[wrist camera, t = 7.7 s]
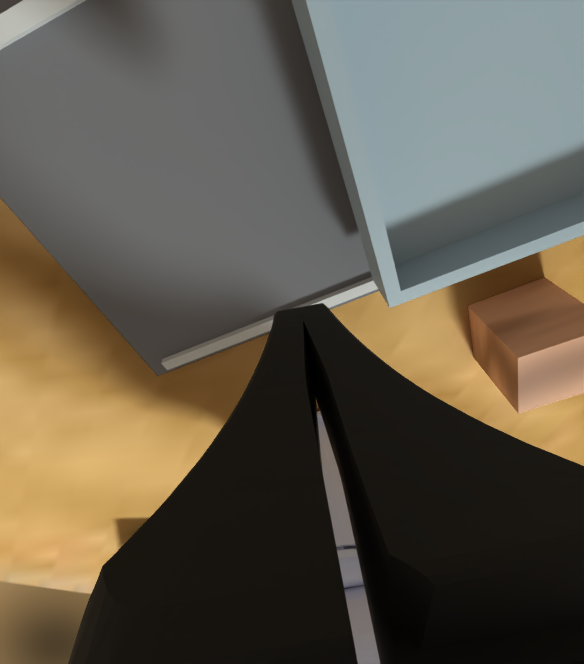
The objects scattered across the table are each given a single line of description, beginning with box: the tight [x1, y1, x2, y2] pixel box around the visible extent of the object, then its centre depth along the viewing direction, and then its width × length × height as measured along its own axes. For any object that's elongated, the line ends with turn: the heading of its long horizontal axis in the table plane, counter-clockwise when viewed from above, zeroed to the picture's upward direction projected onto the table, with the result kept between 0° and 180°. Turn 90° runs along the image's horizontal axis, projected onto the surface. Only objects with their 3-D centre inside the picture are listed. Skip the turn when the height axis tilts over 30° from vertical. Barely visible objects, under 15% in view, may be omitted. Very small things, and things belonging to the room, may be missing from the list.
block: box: [468, 277, 584, 413], centre depth 20 cm, size 4×4×5 cm
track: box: [0, 0, 379, 376], centre depth 14 cm, size 16×28×3 cm, turn 112°
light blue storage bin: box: [292, 0, 584, 308], centre depth 12 cm, size 12×12×4 cm
